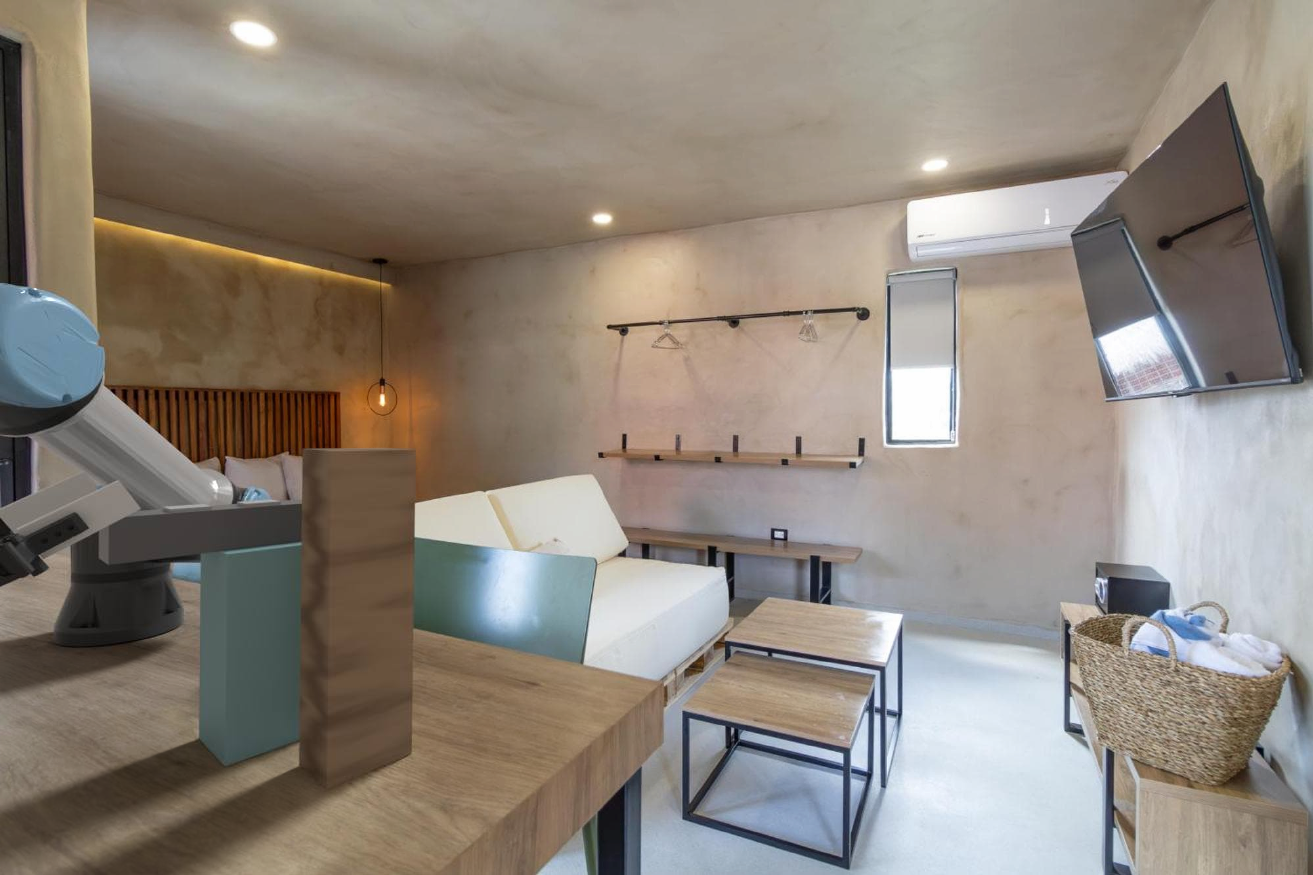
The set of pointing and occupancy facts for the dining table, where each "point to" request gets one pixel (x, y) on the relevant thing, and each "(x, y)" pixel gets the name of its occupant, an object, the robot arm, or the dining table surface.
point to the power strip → (200, 530)
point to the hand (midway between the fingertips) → (110, 488)
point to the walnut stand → (356, 610)
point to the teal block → (250, 650)
